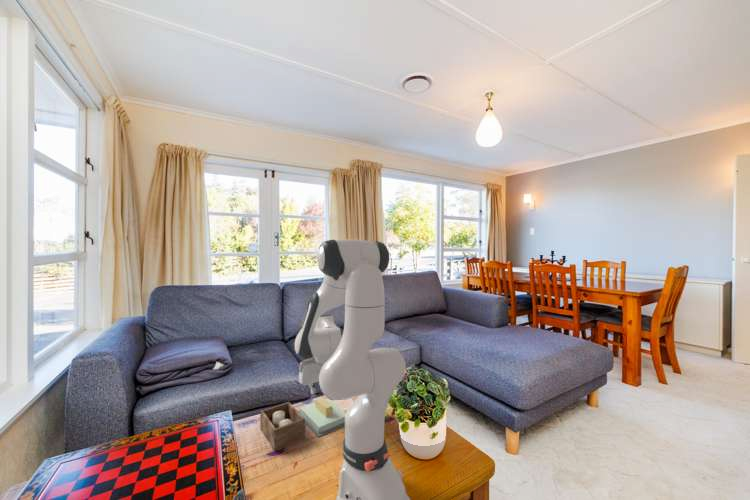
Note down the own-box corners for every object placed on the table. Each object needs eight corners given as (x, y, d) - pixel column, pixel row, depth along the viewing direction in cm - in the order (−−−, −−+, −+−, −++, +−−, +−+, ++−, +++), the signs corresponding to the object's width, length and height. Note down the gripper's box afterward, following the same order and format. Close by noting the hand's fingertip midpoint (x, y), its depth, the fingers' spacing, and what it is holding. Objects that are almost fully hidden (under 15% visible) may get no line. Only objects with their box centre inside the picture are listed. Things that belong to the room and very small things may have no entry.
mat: (353, 422, 116) (353, 421, 116) (318, 437, 107) (318, 436, 107) (328, 401, 132) (328, 400, 132) (295, 412, 123) (295, 412, 123)
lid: (348, 420, 117) (348, 406, 117) (319, 433, 109) (318, 417, 109) (327, 402, 130) (327, 389, 130) (299, 412, 122) (299, 399, 122)
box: (305, 438, 107) (304, 418, 106) (274, 451, 100) (274, 430, 100) (288, 419, 118) (288, 401, 118) (260, 429, 112) (260, 411, 112)
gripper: (302, 363, 110) (303, 400, 110) (349, 351, 123) (349, 385, 123) (295, 358, 115) (296, 394, 115) (341, 347, 128) (341, 380, 128)
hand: (324, 389), depth 119 cm, fingers open, 8 cm apart
